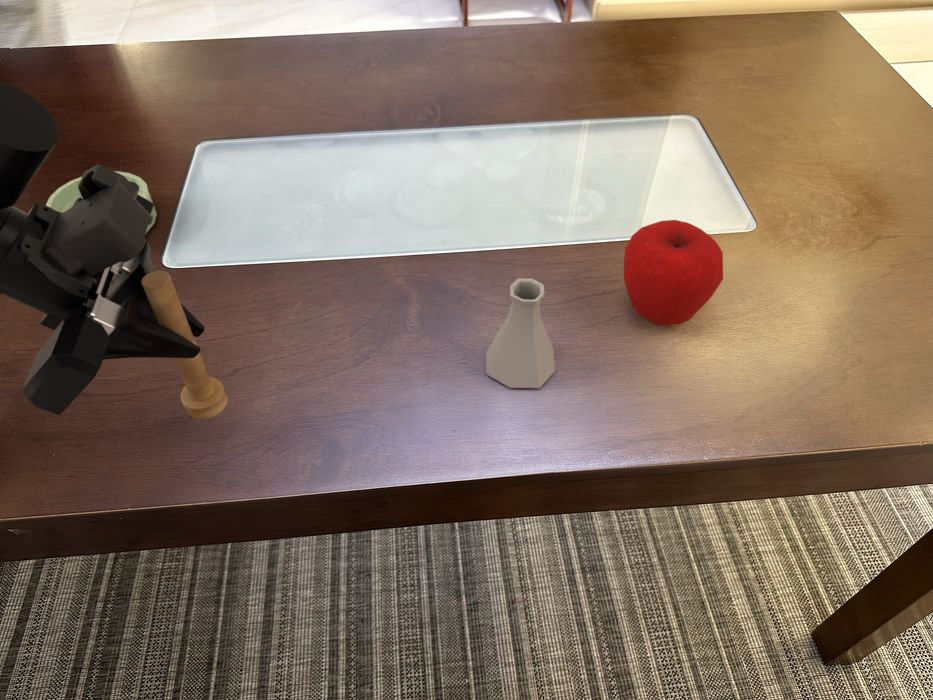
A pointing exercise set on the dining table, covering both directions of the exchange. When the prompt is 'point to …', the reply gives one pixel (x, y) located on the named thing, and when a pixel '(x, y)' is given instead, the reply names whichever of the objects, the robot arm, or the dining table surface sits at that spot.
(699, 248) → the apple
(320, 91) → the dining table surface
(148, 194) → the bowl
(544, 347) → the flask
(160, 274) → the tan wooden rod
